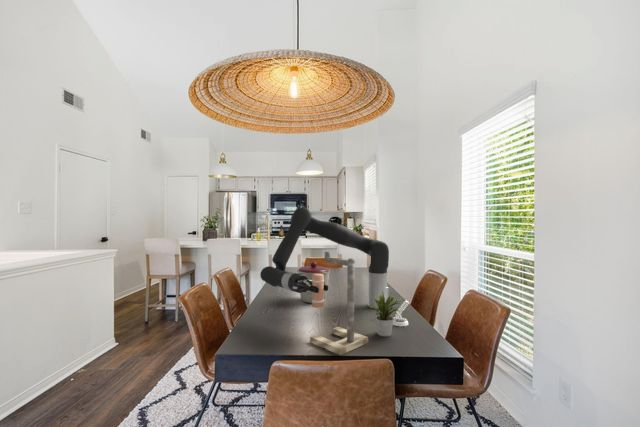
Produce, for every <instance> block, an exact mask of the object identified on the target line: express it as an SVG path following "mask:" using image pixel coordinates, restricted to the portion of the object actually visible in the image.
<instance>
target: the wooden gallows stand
mask: <svg viewBox="0 0 640 427" xmlns="http://www.w3.org/2000/svg"><path fill="white" fill-rule="evenodd" d="M324 263H327V264H334V265H338V266H346V267H347V268H346V269H347V273H346V274H347V282H346V284H347V286H346V288H347V289H346V291H347V292H346V293H347V294H346V296H347V298H346V300H347V301H346V302H347V303H346V306H347V307H346V310H347V311H346V329H345V328H344V327H340V326H337V327H334V328H333V329H332V334H333V335H335V336H339V337H341V338H342V339H339V340H336V341H333V340H331V339H328V338H326V337H323V336H320V335H318V334H314V335H311V336H310V337H309V342H310V344H313V345H315V346H318V347H320V348H322V349H324V348H325V350H326V351H330V352H332V353H334V354H336V355H337V356H342V355H344V354H346V353H349V352H350V351H351V352H352V350H355V349H358V348H359V347H362V346H364V345H366V344H368V343H369V337H368V336H366V335H363V334H360V333H357V332H355V259H354V258H352V257H351V258H348V259H341V258H334V257H331V251H324Z"/></svg>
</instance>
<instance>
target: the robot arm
mask: <svg viewBox="0 0 640 427" xmlns="http://www.w3.org/2000/svg"><path fill="white" fill-rule="evenodd" d="M303 231H306V232H310V233H313V234H315V235H317V236H319V237H321V238H324V239H326V240H329V241H331V242H334V243H335V244H338V245H341V246H343V247H349V248H352V249H355V250H359V251H360V252H363V253H364V254H366V255H368V256H370V264H369V266H368V287H367V288H368V291H367V292H368V295H367V296H368V297H367V299H368V303H367V304H368V305H367V306H368V307H369V306H374V307H375V308H376V309H377V310H379V308H378V306H377V305H376V304H377V303H376V302H375V301H374V299H373V298H372V297H374V298H375V299H376V300H379V293H380V294H381V296H382V291H383V294H384V298H385V302H386V300H387V298H388V297H389V287H388V268H389V261H390V260H389V259H390V258H389V257H390V252H389V251H390V249H389V246H388V244H387V243H386V242H384V241H381V240H379V239H373V238H369V237H366V236H363V235H361V234H360V233H357V232H356V231H354V230H353V229H351V228H349V227H347V226H344V225H343V224H339V223H337V222H331V221H324V220H320V219H317V218H314V217H312V212H311V211H310V210H309V209H308V208H307V207H298V208H296V209H295V210H294V211H293V213H292V215H291V218H290V226H289V227H288V229H287V231H286V233H285V235H284V236H283V239H282V240H281V242H280V243H279V245H278V247H277V249H276V250H275V252H274V255H273V256H272V258H271V261H272V263H273V264H274V266H275V267H274V266H265V267H263V268H262V269H261V271H260V274H259V276H260V279H261V280H262V281H263V282H265V283H266V284H268V285H270V286H271V287H275V288H276V287H280V288H283V289H286V290H288V291H290V292H295V293H298V294H300V293H302V292H315V293H319V287H316V286H312V280H310V279H307V277H306V276H305V275H303V274H298V272H293V271H292V272H291V271H286V269H287V268H286V267H287V263H288V261H289V259H290V258H291V256H292V254H293V252H294V249H295V247H296V245H297V243H298V240H299V238H300V237H301V234H303ZM324 290H325V291H327V292H328V291H329V284H328V285H326V284H324Z"/></svg>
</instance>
